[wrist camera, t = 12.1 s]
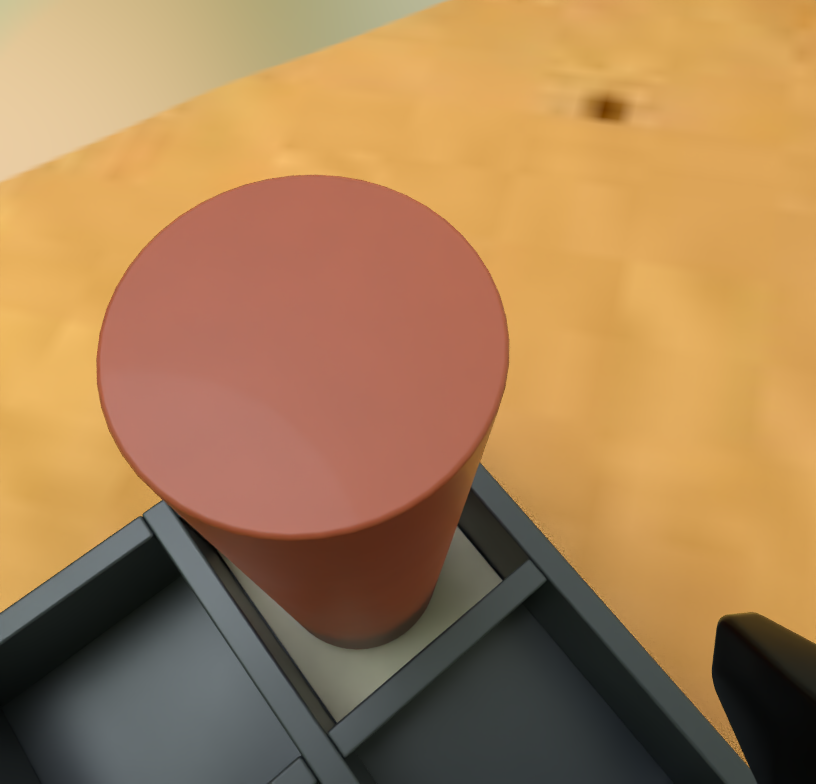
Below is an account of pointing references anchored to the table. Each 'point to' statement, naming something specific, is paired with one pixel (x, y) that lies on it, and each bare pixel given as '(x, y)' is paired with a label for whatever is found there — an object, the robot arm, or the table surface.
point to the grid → (338, 675)
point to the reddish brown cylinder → (311, 391)
